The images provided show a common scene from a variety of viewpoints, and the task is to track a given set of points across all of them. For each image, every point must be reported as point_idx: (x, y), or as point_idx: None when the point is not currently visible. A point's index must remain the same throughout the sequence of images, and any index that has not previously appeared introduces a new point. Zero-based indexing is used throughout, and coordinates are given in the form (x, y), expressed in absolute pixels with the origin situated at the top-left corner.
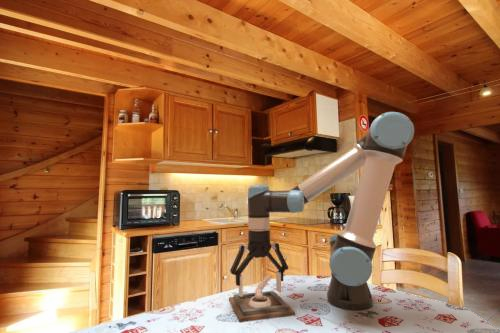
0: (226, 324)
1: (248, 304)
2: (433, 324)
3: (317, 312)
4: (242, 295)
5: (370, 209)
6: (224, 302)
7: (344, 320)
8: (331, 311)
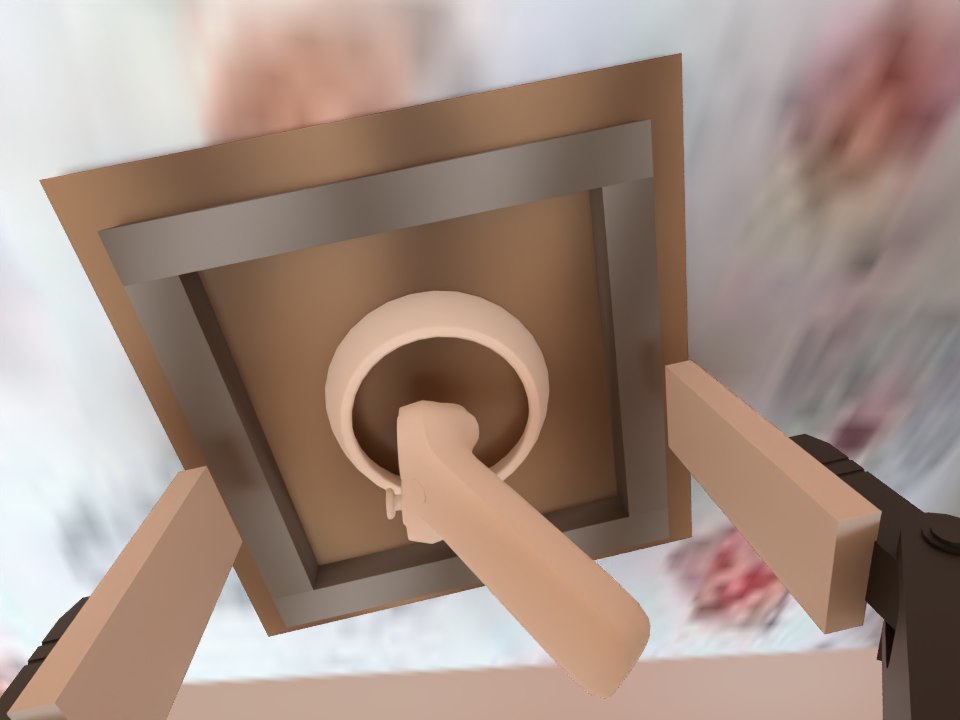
0: None
1: (324, 406)
2: None
3: None
4: (237, 551)
5: None
6: (27, 245)
7: None
8: (943, 468)
